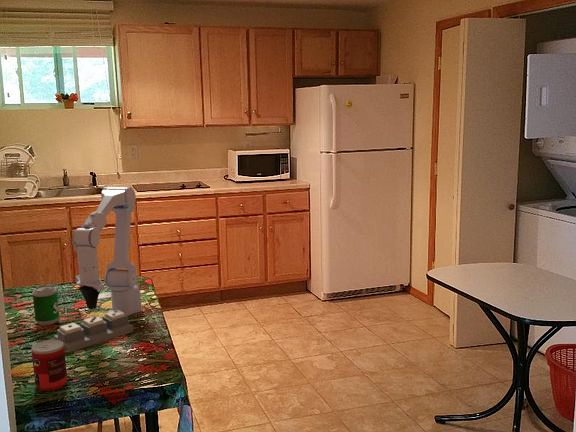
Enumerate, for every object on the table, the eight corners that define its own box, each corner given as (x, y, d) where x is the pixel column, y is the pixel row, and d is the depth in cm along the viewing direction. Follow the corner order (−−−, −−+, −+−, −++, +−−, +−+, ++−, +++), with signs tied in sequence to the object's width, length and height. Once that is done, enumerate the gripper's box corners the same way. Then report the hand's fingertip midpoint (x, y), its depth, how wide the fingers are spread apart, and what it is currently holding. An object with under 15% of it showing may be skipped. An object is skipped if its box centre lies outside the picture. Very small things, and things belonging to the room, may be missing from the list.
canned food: (40, 378, 159) (36, 340, 156) (71, 376, 159) (67, 338, 157) (31, 392, 151) (26, 352, 149) (63, 390, 152) (59, 350, 150)
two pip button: (118, 314, 193) (117, 309, 193) (125, 318, 190) (124, 312, 190) (105, 318, 190) (105, 312, 190) (112, 322, 187) (112, 316, 187)
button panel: (116, 322, 197) (115, 309, 196) (133, 331, 189) (132, 317, 188) (54, 341, 182) (52, 327, 181) (70, 352, 175) (69, 337, 174)
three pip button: (96, 321, 188) (96, 315, 187) (103, 324, 185) (103, 318, 184) (83, 325, 185) (83, 319, 184) (90, 329, 182) (89, 322, 181)
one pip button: (74, 328, 183) (73, 322, 182) (80, 331, 180) (80, 325, 179) (60, 332, 180) (59, 326, 179) (66, 336, 177) (66, 329, 176)
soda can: (51, 327, 194) (47, 292, 191) (30, 325, 195) (27, 291, 193) (64, 318, 201) (60, 285, 199) (44, 317, 202) (40, 284, 200)
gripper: (65, 264, 183) (69, 305, 186) (87, 273, 173) (91, 317, 176) (86, 259, 188) (90, 300, 191) (109, 268, 178) (112, 311, 181)
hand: (92, 308), depth 184 cm, fingers closed
